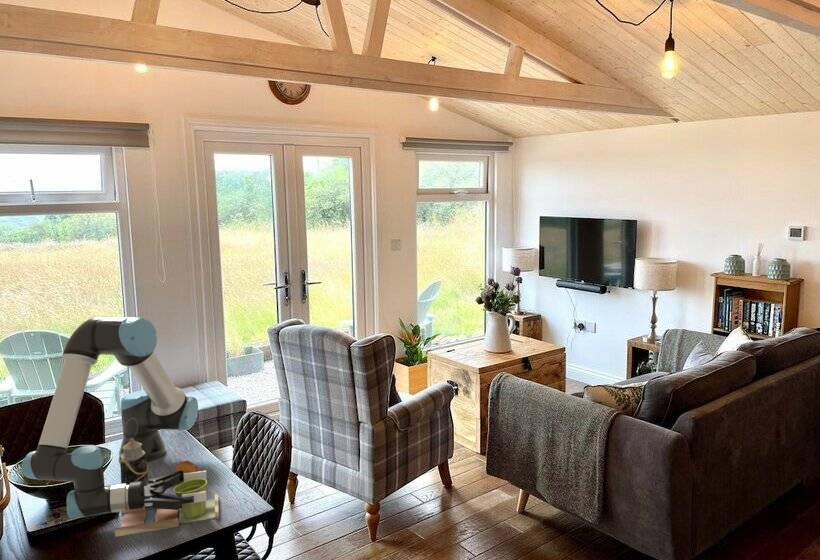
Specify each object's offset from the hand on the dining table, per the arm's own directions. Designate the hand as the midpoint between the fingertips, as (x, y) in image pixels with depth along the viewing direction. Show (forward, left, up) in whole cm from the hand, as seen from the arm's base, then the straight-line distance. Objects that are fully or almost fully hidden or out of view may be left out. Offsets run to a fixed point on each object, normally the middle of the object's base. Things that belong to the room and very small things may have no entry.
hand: (206, 485), depth 185 cm
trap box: (0, -11, -8) cm, 13 cm away
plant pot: (+3, -4, -7) cm, 9 cm away
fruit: (-18, -6, -8) cm, 21 cm away
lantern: (-17, -22, -8) cm, 29 cm away
